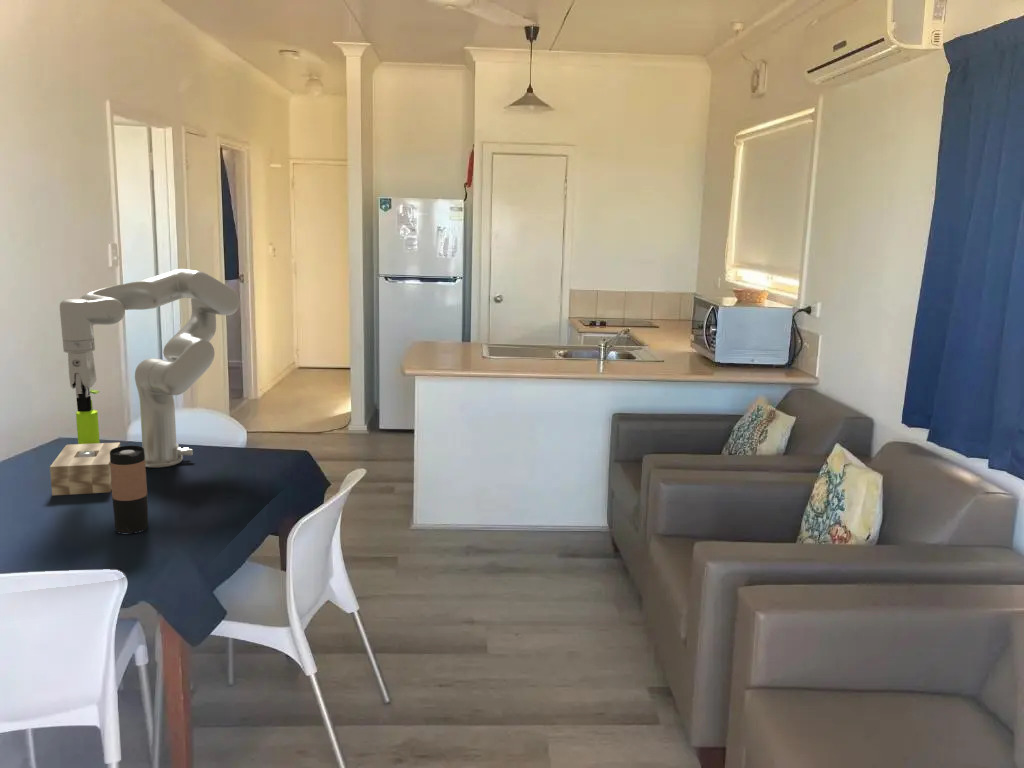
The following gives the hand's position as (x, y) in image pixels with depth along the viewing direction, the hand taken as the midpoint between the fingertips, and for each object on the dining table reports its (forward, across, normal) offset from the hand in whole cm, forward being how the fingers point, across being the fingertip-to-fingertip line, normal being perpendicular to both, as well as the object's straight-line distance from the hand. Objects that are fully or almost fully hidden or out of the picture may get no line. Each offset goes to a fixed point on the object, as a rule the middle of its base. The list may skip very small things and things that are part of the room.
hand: (84, 410), depth 223 cm
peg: (+19, 0, 0) cm, 19 cm away
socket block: (+20, 0, 0) cm, 20 cm away
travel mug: (+20, -37, -16) cm, 45 cm away
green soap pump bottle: (+21, +27, +4) cm, 34 cm away
